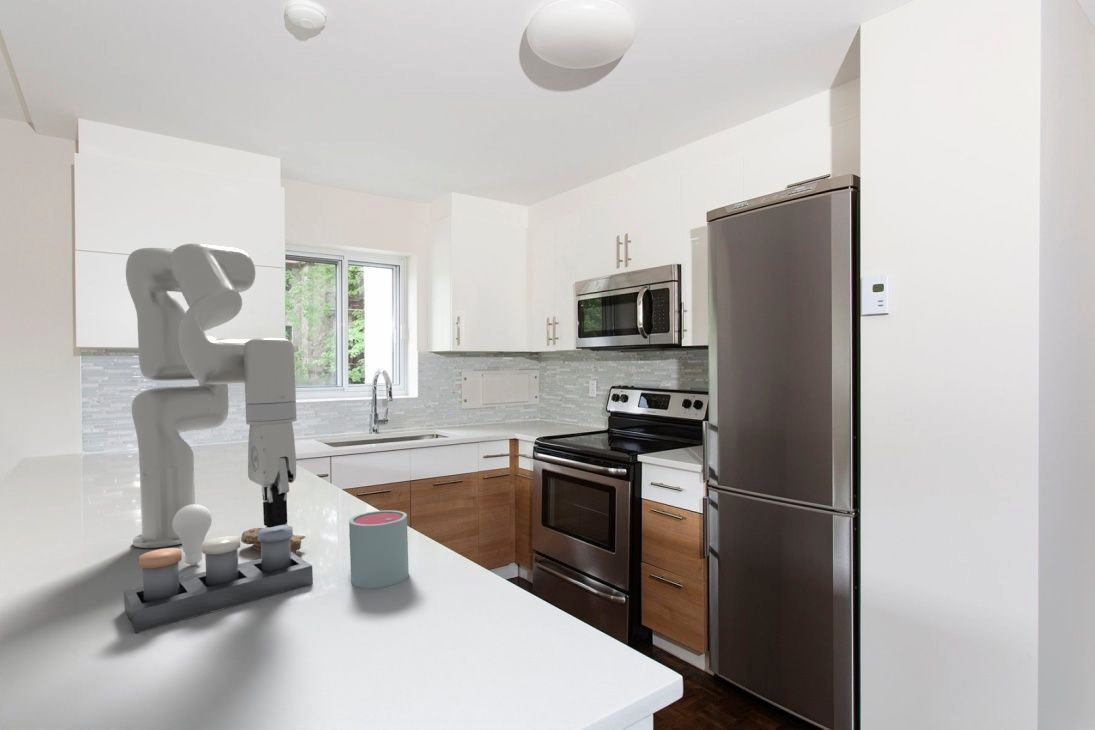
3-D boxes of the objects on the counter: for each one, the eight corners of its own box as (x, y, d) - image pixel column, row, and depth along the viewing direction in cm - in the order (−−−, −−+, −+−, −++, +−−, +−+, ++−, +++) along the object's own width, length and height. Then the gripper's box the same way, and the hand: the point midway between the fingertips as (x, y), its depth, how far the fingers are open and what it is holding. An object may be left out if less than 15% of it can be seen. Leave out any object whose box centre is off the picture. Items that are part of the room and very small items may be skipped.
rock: (332, 533, 115) (286, 536, 107) (327, 560, 114) (281, 565, 106) (281, 518, 124) (235, 519, 116) (276, 542, 123) (230, 546, 115)
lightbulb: (195, 572, 103) (193, 509, 103) (165, 570, 104) (163, 508, 104) (221, 560, 109) (219, 501, 109) (192, 558, 110) (190, 500, 110)
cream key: (199, 580, 92) (198, 541, 92) (236, 572, 96) (234, 534, 95) (207, 590, 88) (206, 548, 88) (245, 580, 92) (244, 540, 92)
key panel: (124, 610, 88) (123, 590, 88) (291, 568, 104) (290, 551, 104) (134, 633, 80) (134, 611, 80) (312, 583, 96) (312, 565, 96)
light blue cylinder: (254, 567, 97) (253, 530, 97) (287, 559, 101) (286, 523, 101) (264, 575, 94) (263, 536, 93) (298, 567, 97) (297, 529, 97)
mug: (419, 575, 99) (417, 516, 99) (369, 592, 92) (367, 529, 92) (375, 558, 108) (374, 503, 108) (327, 572, 101) (325, 514, 101)
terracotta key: (137, 595, 87) (136, 553, 87) (178, 586, 90) (177, 545, 90) (143, 606, 83) (142, 562, 83) (186, 595, 86) (184, 553, 86)
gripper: (233, 413, 100) (238, 521, 100) (261, 418, 89) (266, 539, 89) (280, 409, 105) (284, 512, 105) (311, 413, 94) (316, 528, 94)
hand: (275, 524), depth 97 cm, fingers closed
